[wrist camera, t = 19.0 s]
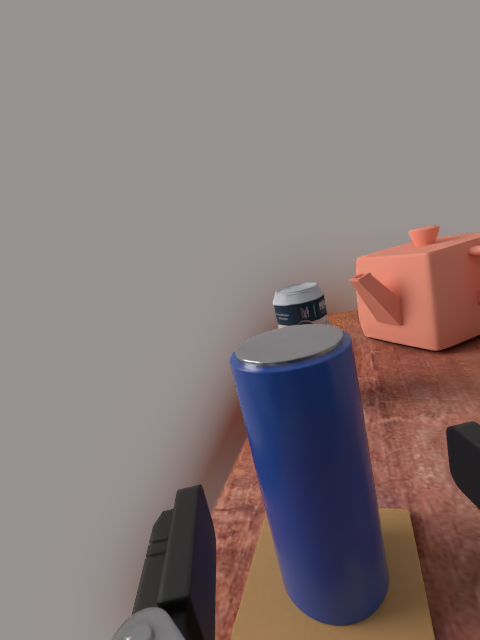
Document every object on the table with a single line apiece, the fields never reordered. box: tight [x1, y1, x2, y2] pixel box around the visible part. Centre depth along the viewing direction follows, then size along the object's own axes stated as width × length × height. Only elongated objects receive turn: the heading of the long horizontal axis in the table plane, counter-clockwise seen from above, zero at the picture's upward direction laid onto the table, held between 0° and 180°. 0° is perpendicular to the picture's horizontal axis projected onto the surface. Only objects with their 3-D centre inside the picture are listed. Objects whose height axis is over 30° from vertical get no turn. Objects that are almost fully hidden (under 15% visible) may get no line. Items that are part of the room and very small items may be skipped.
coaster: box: [230, 508, 435, 640], centre depth 17 cm, size 8×8×1 cm
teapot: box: [350, 225, 480, 351], centre depth 44 cm, size 20×22×14 cm
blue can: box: [230, 324, 389, 625], centre depth 16 cm, size 5×5×12 cm
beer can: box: [273, 283, 329, 328], centre depth 33 cm, size 5×5×12 cm
